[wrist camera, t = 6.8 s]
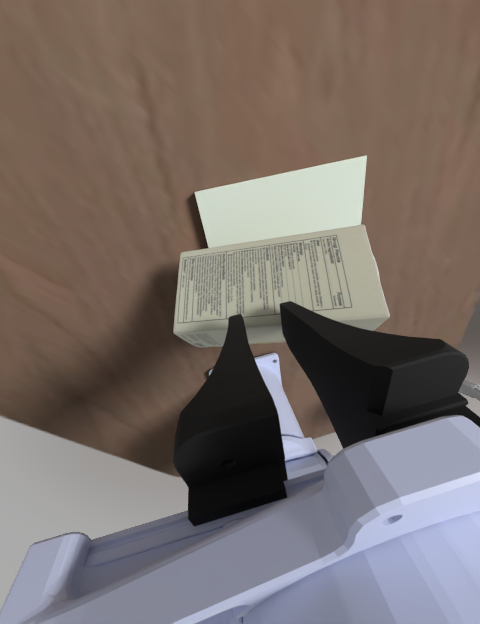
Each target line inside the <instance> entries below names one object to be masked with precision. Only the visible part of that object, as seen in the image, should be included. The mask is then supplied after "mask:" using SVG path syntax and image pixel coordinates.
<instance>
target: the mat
mask: <svg viewBox="0 0 480 624" xmlns="http://www.w3.org/2000/svg"><path fill="white" fill-rule="evenodd" d="M366 160H367V156H362V157H357V158H352V159H348V160H343V161H338V162H333V163H329V164H324V165H319V166H315V167H310V168H305V169H301V170H296V171H291V172H286V173H282V174H277V175H272V176H268V177H263V178H258V179H254V180H249V181H244V182H239V183H235V184H230V185H225V186H221V187H216V188H211V189H207V190H202V191H197V192H195V196H196V200H197V204H198V208H199V212H200V216H201V220H202V224H203V228H204V232H205V236H206V240H207V244H208V248H213V247H219V246H225V245H232V244H239V243H246V242H252V241H259V240H265V239H272V238H279V237H285V236H292V235H298V234H305V233H311V232H318V231H325V230H332V229H337V228H344V227H351V226H357V225H361V217H362V206H363V194H364V183H365V171H366Z"/></svg>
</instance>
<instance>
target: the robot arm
mask: <svg viewBox="0 0 480 624" xmlns="http://www.w3.org/2000/svg"><path fill="white" fill-rule="evenodd" d="M280 314H281V323H282V332H283V336H284V338H285V340H286V342H287V344H288V347H289V349H290V350H291V352H292V353H293V355H294V356H295V358H296V360H297V361H298V363H299V364H300V366H301V367H302V369H303V370H304V372H305V373H306V375H307V377H308V378H309V380H310V381H311V383H312V385H313V386H314V388H315V390H316V392H317V394H318V396H319V398H320V400H321V402H322V404H323V406H324V408H325V410H326V412H327V414H328V416H329V418H330V421H331V423H332V425H333V427H334V429H335V431H336V433H337V436H338V438H339V440H340V442H341V444H342V447H343V450H341V451H340V452H339V453H338V454H336V455H335V456H333V455H331V454H330V453H329V452H328V451H327V450H325V449H319V450H317V449H316V447H315V445H314V443H313V441H312V438H304V436H303V433H302V431H301V429H300V427H299V424H298V422H297V420H296V418H295V415H294V413H293V411H292V409H291V406H290V404H289V402H288V400H287V397H286V395H285V393H284V391H283V388H282V382H281V375H280V367H279V359H278V355H277V354H276V353H271V354H267V355H263V356H260V357H256V358H254V357H253V354H252V352H251V349H250V347H249V342H248V338H247V333H246V328H245V323H244V319H243V317H242V315H241V314H237V315H233V316H230V317H229V318H228V330H227V334H226V338H225V342H224V345H223V348H222V351H221V353H220V356H219V358H218V360H217V362H216V364H215V366H214V368H213V369H211V370H210V371H209V377H208V379H207V380H206V382H205V383H204V385H203V386H202V387H201V389H200V390H199V392H198V393H197V394H196V396H195V397H194V398H193V399H192V400H191V401H190V403H189V404H188V405H187V406H186V407H185V408H184V409H183V410H182V412H181V414H180V417H179V421H178V425H177V430H176V435H175V444H174V459H173V463H174V465H175V468H176V470H177V471H178V473H179V474H180V476H181V477H182V478H183V480H184V481H185V483H186V484H187V486H188V487H189V494H188V495H189V496H188V497H189V498H188V511H185V512H181V513H178V514H175V515H172V516H168V517H165V518H162V519H159V520H155V521H152V522H149V523H145V524H142V525H139V526H136V527H132V528H129V529H126V530H123V531H119V532H116V533H113V534H109V535H106V536H103V537H100V538H96V539H93V540H91V539H90V538H89V537H88V536H87V535H85V534H84V533H80V532H71V533H66V534H63V535H59V536H56V537H53V538H49V539H46V540H43V541H39V542H36V543H34V544H32V545H31V546H30V547H29V549H28V551H27V554H26V556H25V558H24V560H23V562H22V565H21V567H20V569H19V571H18V574H17V575H16V578H15V580H14V582H13V584H12V586H11V589H10V591H9V593H8V595H7V597H6V600H5V602H4V604H3V606H2V609H1V611H0V624H480V417H479V416H477V415H476V414H475V413H474V412H472V411H471V410H470V409H469V408H467V407H466V406H465V405H467V404H468V401H467V399H466V398H464V397H463V396H462V395H460V394H459V393H458V392H459V389H460V387H461V385H462V383H463V381H464V379H465V377H466V375H467V372H468V369H469V362H468V358H467V357H466V355H465V354H463V353H461V352H460V351H458V350H457V349H455V348H454V347H452V346H450V345H449V344H447V343H446V342H444V341H442V340H441V339H430V338H418V337H407V336H400V335H393V334H386V333H380V332H375V331H371V330H366V329H362V328H358V327H354V326H351V325H347V324H344V323H341V322H338V321H335V320H332V319H330V318H327V317H325V316H322V315H320V314H318V313H315V312H313V311H311V310H309V309H307V308H305V307H302V306H300V305H298V304H296V303H294V302H292V301H288V302H284V303H280ZM273 360H275V361H273Z"/></svg>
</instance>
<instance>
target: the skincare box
mask: <svg viewBox="0 0 480 624" xmlns="http://www.w3.org/2000/svg"><path fill="white" fill-rule="evenodd" d="M288 301H292V302H294V303H296V304H298V305H300V306H302V307H305V308H307V309H309V310H311V311H313V312H315V313H318V314H320V315H322V316H325V317H327V318H330V319H332V320H335V321H338V322H341V323H344V324H347V325H351V326H354V327H358V328H362V329H366V330H371V331H374V330H375V329H376V328H377V327H378V326H380V325H381V324H382V323H383V322H384V321H385V320H387V319H388V318H389V316H390V315H389V311H388V308H387V305H386V301H385V298H384V294H383V291H382V287H381V284H380V279H379V272H378V268H377V264H376V261H375V258H374V256H373V254H372V251H371V247H370V244H369V240H368V236H367V233H366V228H365V226H364V225H357V226H351V227H344V228H337V229H332V230H325V231H318V232H311V233H305V234H298V235H292V236H285V237H279V238H272V239H265V240H259V241H252V242H246V243H239V244H232V245H225V246H219V247H213V248H206V249H199V250H193V251H186V252H182V253H181V255H180V264H179V274H178V285H177V295H176V304H175V317H174V329H173V333H174V334H175V335H177V336H178V337H180V338H181V339H183V340H185V341H186V342H188V343H190V344H192V345H194V346H196V347H198V348H200V347H217V346H223V345H224V342H225V338H226V334H227V330H228V318H229V317H230V316H233V315H237V314H241V315H242V317H243V319H244V323H245V328H246V333H247V338H248V342H249V344H262V343H278V342H286V340H285V338H284V336H283V332H282V323H281V314H280V303H284V302H288Z"/></svg>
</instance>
